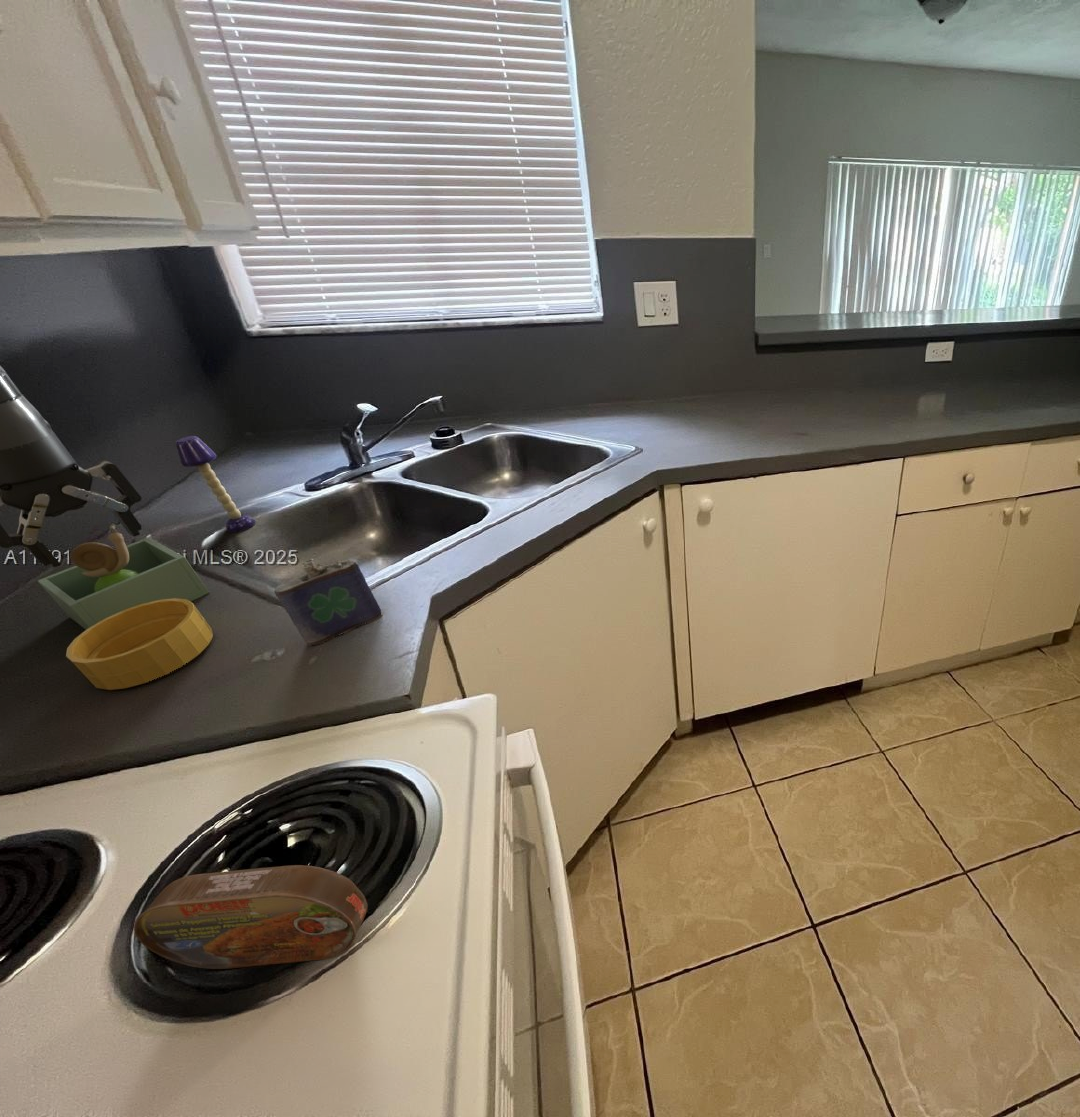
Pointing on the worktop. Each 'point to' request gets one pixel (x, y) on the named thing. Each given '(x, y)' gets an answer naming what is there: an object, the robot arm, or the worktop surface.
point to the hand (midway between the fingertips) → (96, 549)
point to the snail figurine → (104, 560)
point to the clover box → (328, 600)
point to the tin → (253, 917)
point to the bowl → (140, 643)
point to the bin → (126, 584)
